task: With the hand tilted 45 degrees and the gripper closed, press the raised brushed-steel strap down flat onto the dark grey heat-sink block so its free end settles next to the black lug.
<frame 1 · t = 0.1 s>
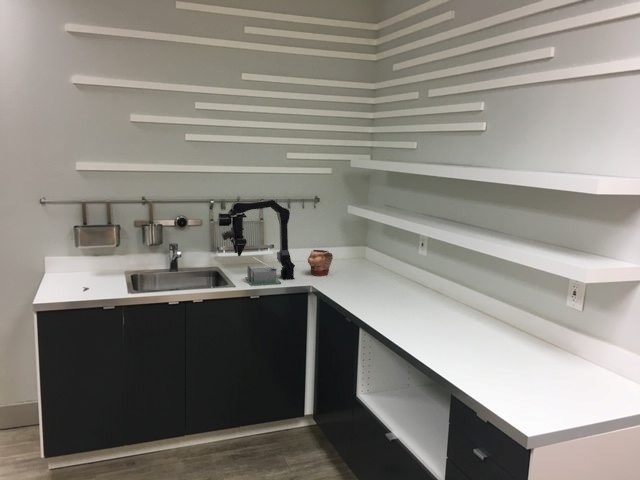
hand: (237, 254, 279), 15 cm above the worktop, tool pointing down, fingers open, 9 cm apart
heat sink: (262, 281, 282), on the worktop
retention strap: (264, 263, 280), point 10 cm above the worktop, hinge at 30.0°
decorative planter: (320, 274, 303), on the worktop
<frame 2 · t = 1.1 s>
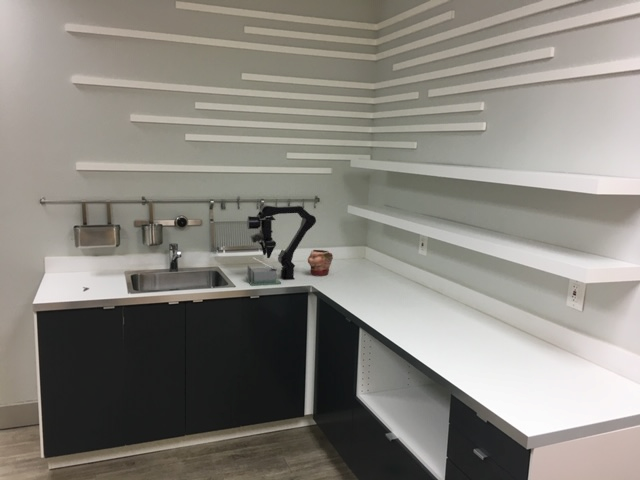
hand: (266, 256, 284), 13 cm above the worktop, tool pointing down, fingers open, 9 cm apart
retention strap: (264, 263, 280), point 10 cm above the worktop, hinge at 29.3°
everything else where it was.
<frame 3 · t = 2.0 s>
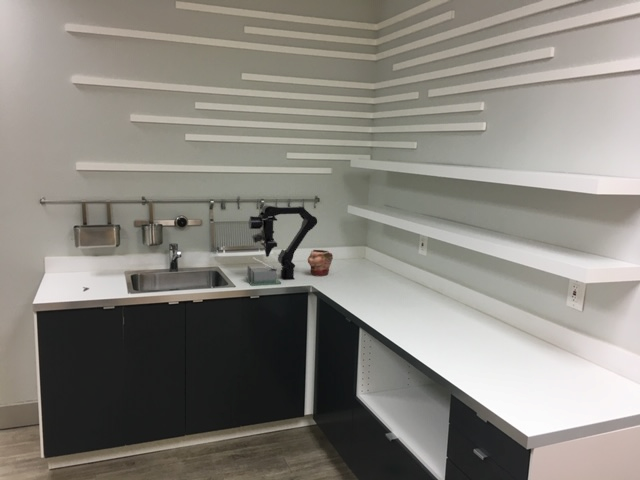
hand: (267, 256, 284), 13 cm above the worktop, tool pointing down, fingers closed
nothing on the worktop moved.
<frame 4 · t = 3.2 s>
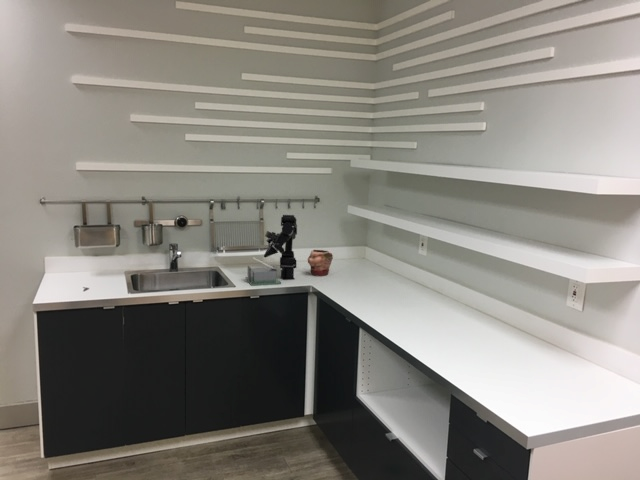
hand: (264, 256, 280), 14 cm above the worktop, tool tilted 45°, fingers closed
nothing on the worktop moved.
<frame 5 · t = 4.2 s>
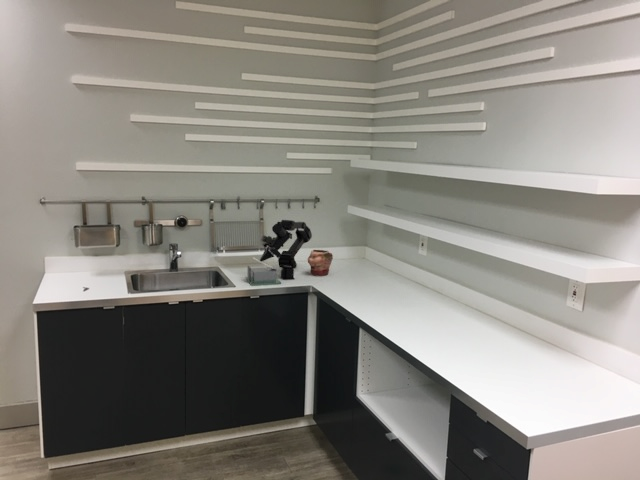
hand: (260, 261, 279), 11 cm above the worktop, tool tilted 45°, fingers closed, pressing on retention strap
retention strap: (264, 263, 280), point 10 cm above the worktop, hinge at 29.0°, touching gripper
everything else where it was.
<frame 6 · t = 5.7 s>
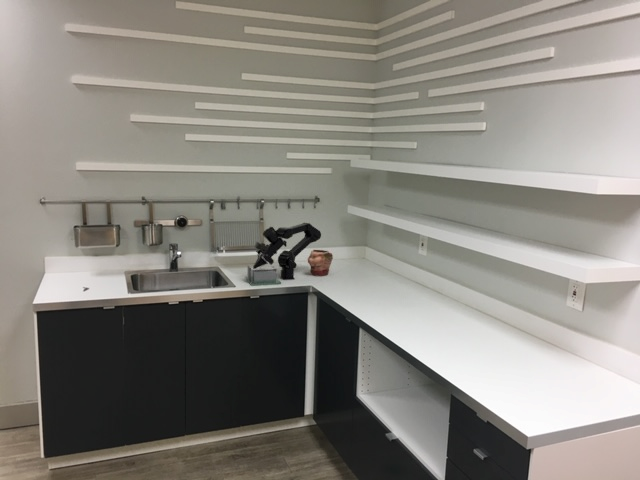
hand: (253, 267, 278), 8 cm above the worktop, tool tilted 45°, fingers closed, pressing on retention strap
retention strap: (262, 268, 280), point 7 cm above the worktop, hinge at 2.8°, touching gripper
everything else where it was.
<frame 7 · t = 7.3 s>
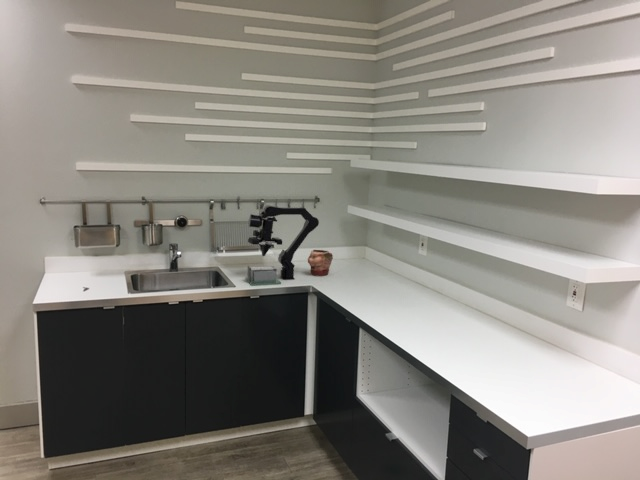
hand: (263, 256, 286), 13 cm above the worktop, tool pointing down, fingers closed
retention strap: (262, 268, 280), point 7 cm above the worktop, hinge at 2.8°
everything else where it was.
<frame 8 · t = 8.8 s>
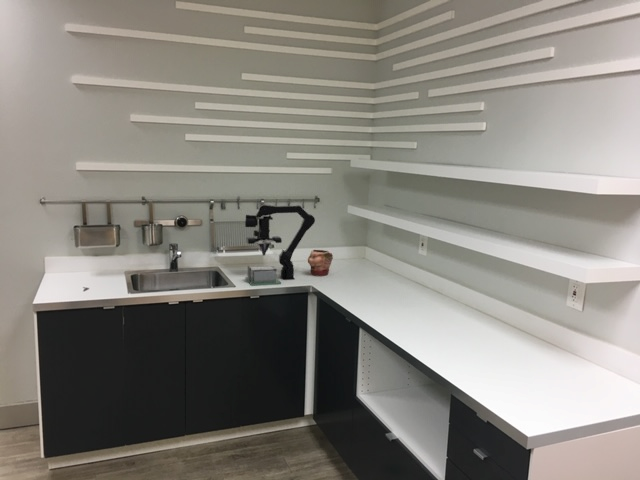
hand: (263, 255, 287), 13 cm above the worktop, tool pointing down, fingers closed
nothing on the worktop moved.
at the end: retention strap at +3° (first picture: +30°) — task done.
